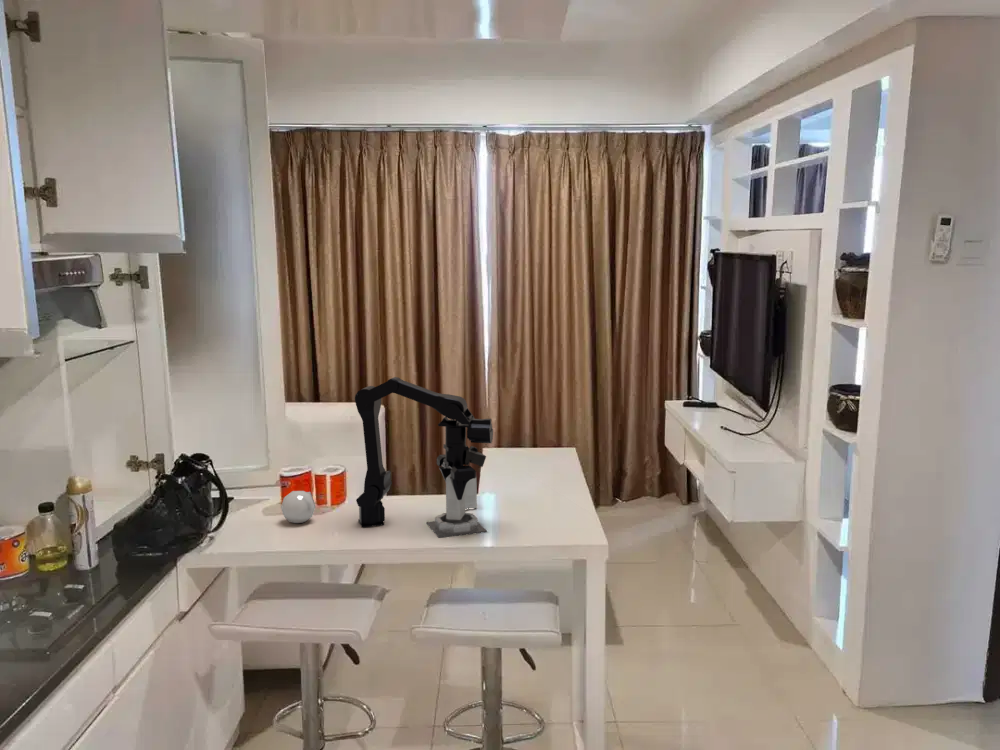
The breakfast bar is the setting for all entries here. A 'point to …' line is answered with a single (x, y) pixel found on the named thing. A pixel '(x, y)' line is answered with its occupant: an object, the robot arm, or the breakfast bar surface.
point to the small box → (471, 494)
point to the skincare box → (453, 502)
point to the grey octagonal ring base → (456, 526)
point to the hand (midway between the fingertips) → (455, 496)
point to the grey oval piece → (298, 506)
